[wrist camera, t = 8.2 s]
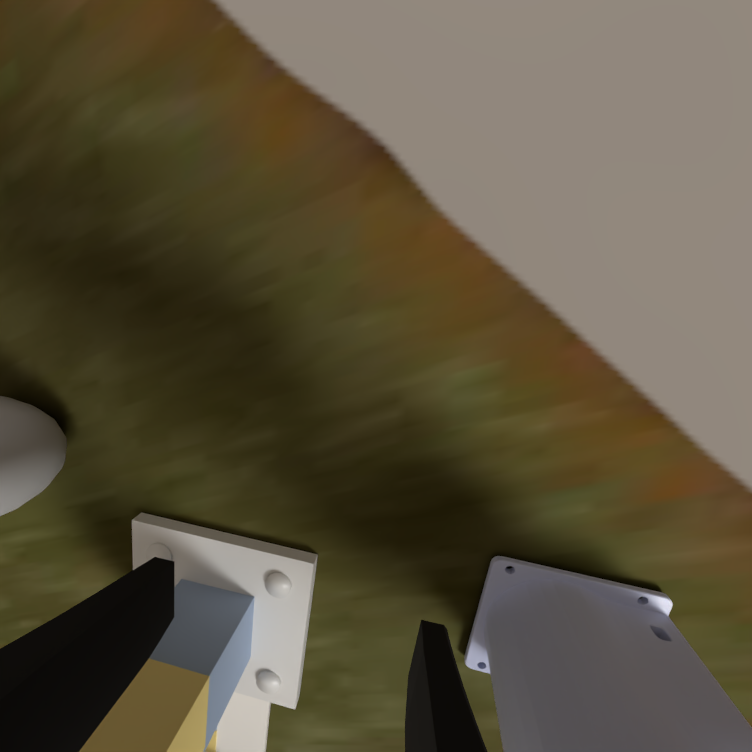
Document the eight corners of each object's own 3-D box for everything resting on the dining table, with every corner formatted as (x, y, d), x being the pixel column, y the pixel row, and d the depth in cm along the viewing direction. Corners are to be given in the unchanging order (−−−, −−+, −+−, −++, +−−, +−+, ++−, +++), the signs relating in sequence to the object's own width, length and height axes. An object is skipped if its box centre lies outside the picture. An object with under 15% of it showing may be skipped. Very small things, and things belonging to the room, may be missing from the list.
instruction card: (272, 688, 25) (269, 695, 25) (264, 766, 27) (261, 773, 27) (143, 652, 26) (139, 658, 26) (144, 729, 28) (140, 735, 28)
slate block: (254, 596, 22) (206, 680, 17) (250, 657, 23) (204, 751, 19) (181, 579, 23) (115, 655, 18) (181, 638, 24) (119, 725, 19)
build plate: (317, 554, 22) (312, 567, 21) (299, 696, 25) (293, 714, 24) (141, 512, 23) (127, 522, 22) (143, 652, 26) (131, 667, 25)
